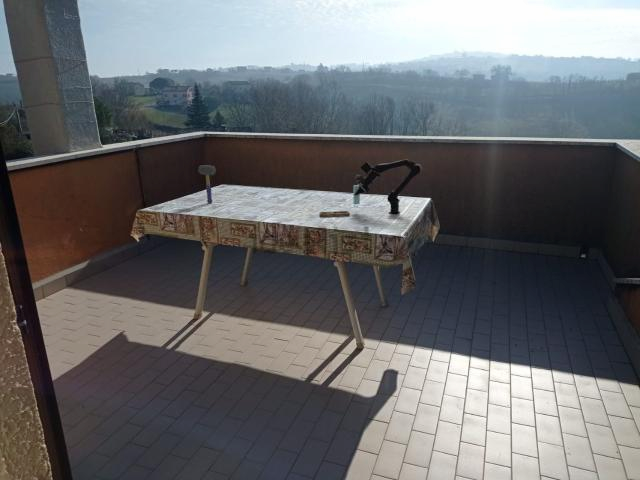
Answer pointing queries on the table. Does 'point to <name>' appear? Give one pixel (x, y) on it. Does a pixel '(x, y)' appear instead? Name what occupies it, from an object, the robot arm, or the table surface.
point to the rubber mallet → (207, 178)
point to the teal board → (356, 198)
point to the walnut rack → (335, 214)
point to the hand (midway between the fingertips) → (354, 194)
